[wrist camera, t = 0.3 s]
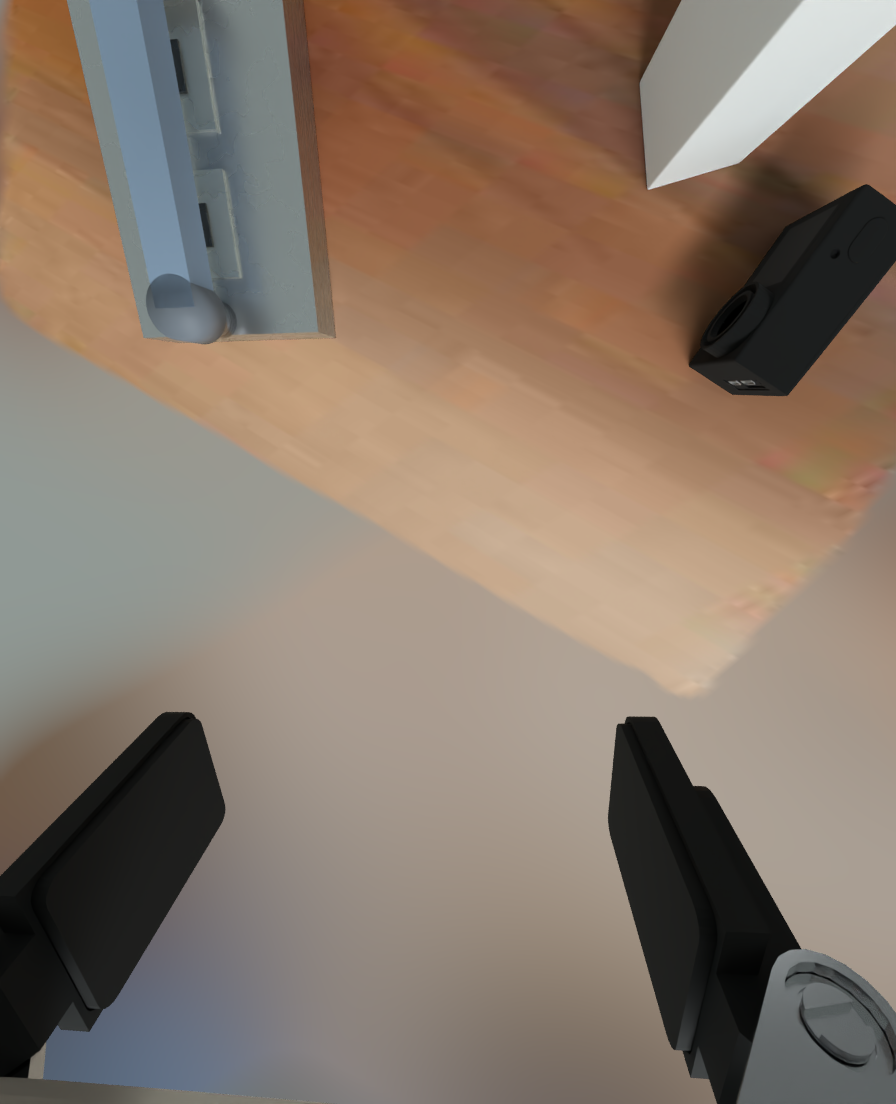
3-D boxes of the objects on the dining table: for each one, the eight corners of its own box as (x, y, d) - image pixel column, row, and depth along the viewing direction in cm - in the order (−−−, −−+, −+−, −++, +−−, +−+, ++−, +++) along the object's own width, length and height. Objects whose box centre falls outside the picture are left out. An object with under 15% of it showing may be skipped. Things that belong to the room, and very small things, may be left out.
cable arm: (231, 343, 30) (207, 339, 28) (180, 345, 30) (152, 341, 28) (159, -87, 23) (118, -148, 21) (94, -80, 24) (45, -139, 21)
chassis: (110, 9, 30) (20, -82, 24) (302, -8, 29) (256, -109, 23) (179, 345, 37) (121, 337, 31) (335, 340, 36) (307, 331, 30)
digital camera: (773, 213, 31) (852, 166, 24) (835, 257, 31) (928, 223, 25) (674, 357, 34) (719, 350, 28) (731, 394, 35) (788, 396, 28)
